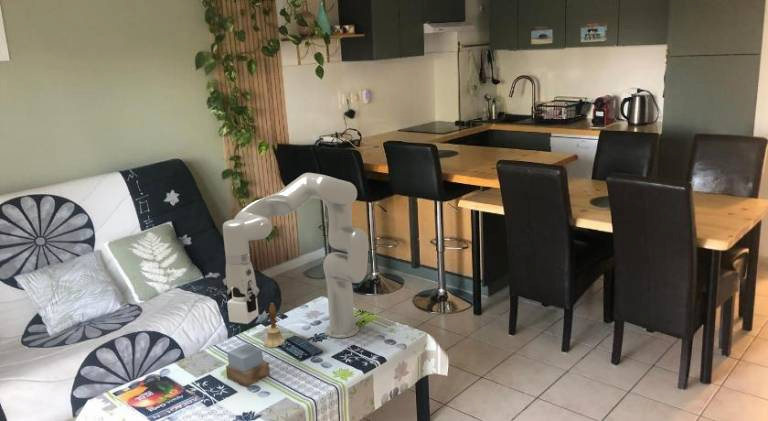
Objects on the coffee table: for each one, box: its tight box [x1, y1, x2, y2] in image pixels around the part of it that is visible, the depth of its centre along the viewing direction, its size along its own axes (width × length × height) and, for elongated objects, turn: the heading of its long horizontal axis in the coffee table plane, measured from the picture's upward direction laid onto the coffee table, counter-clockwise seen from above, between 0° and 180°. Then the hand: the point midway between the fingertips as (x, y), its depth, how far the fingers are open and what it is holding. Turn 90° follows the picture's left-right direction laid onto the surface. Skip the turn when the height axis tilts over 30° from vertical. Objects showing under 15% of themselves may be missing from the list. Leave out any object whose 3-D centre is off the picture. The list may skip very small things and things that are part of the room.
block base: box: [225, 360, 271, 388], centre depth 221 cm, size 10×10×5 cm
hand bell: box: [263, 302, 286, 349], centre depth 243 cm, size 8×8×16 cm
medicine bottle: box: [226, 287, 260, 325], centre depth 215 cm, size 7×7×12 cm
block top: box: [227, 343, 263, 373], centre depth 219 cm, size 8×8×5 cm
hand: (242, 307), depth 215 cm, fingers closed on medicine bottle, 8 cm apart
